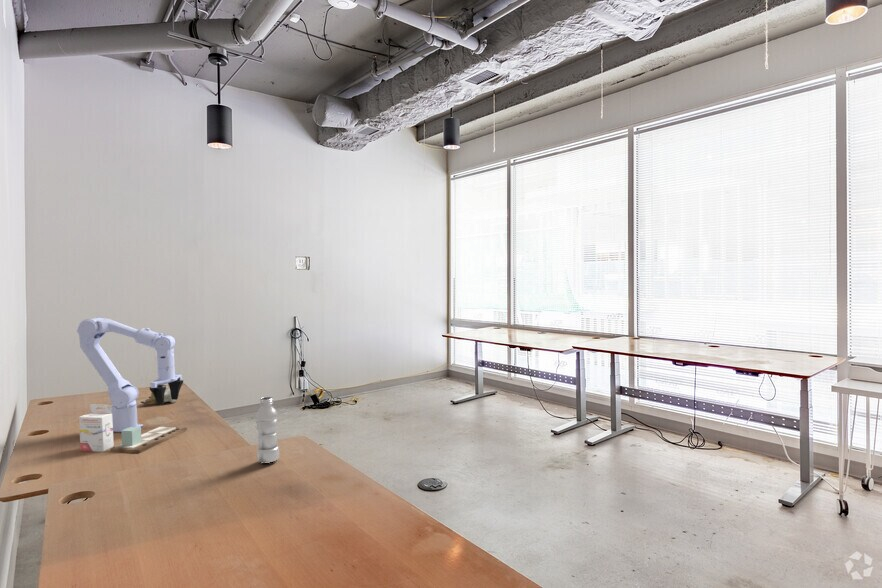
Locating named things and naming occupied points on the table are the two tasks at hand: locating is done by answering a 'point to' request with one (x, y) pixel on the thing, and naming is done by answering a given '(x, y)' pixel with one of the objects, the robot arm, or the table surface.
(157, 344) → the robot arm
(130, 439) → the sage block
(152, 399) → the ceramic sculpture
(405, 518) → the table surface
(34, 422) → the table surface
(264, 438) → the plastic bottle
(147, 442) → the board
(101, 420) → the ink cartridge box
